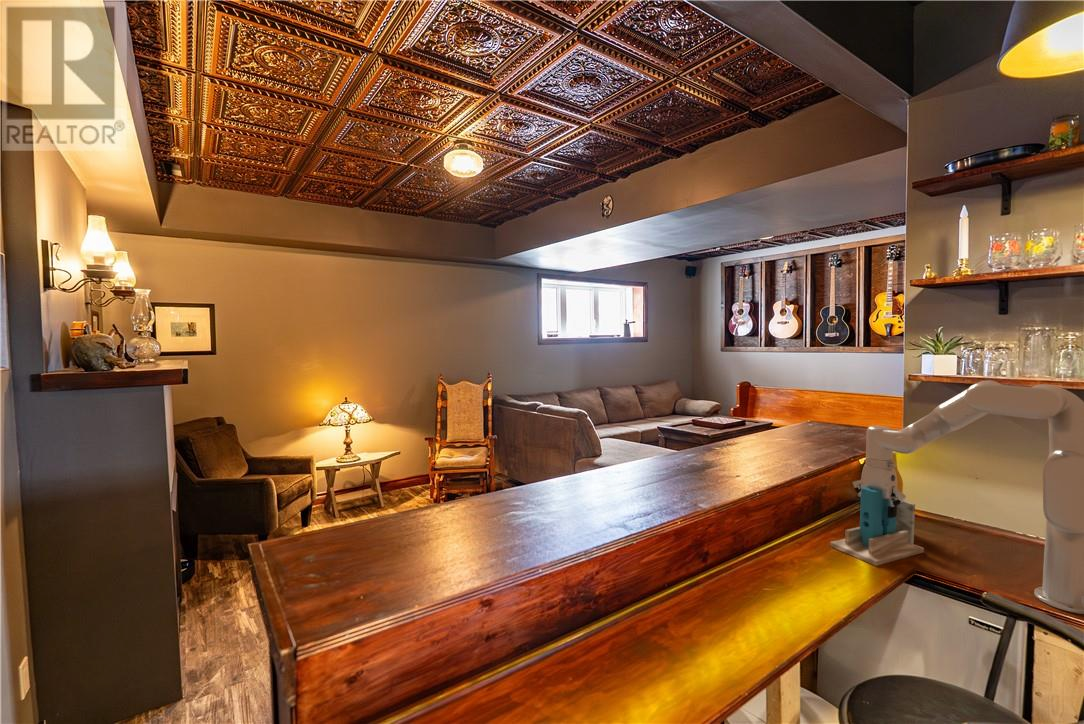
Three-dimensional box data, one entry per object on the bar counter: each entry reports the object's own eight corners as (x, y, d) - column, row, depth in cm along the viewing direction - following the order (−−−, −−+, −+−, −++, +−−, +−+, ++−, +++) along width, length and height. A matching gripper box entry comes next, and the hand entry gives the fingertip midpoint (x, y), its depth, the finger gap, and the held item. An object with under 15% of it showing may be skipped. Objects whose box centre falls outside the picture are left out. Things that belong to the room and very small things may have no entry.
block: (881, 539, 177) (883, 483, 176) (896, 545, 173) (898, 487, 171) (857, 545, 173) (859, 487, 171) (872, 551, 168) (874, 492, 167)
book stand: (923, 552, 170) (925, 507, 169) (875, 565, 161) (877, 518, 160) (876, 534, 185) (877, 493, 184) (830, 546, 176) (831, 502, 175)
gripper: (913, 468, 164) (911, 519, 166) (861, 455, 180) (860, 503, 182) (898, 470, 162) (896, 523, 163) (847, 458, 178) (845, 506, 179)
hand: (877, 512), depth 172 cm, fingers open, 9 cm apart
